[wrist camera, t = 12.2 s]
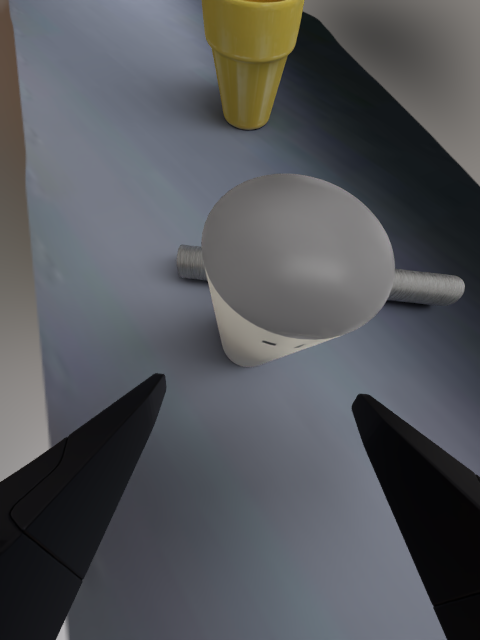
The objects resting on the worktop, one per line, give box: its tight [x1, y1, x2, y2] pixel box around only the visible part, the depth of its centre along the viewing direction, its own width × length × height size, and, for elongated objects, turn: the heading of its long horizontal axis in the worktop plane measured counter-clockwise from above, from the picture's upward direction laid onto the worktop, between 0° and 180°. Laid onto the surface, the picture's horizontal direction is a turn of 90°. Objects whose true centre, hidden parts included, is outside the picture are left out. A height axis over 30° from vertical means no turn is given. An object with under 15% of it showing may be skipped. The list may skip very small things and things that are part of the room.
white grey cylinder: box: [201, 174, 395, 367], centre depth 11 cm, size 5×5×13 cm
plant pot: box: [202, 0, 304, 130], centre depth 22 cm, size 10×10×10 cm
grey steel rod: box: [177, 245, 465, 306], centre depth 17 cm, size 4×26×4 cm, turn 85°
